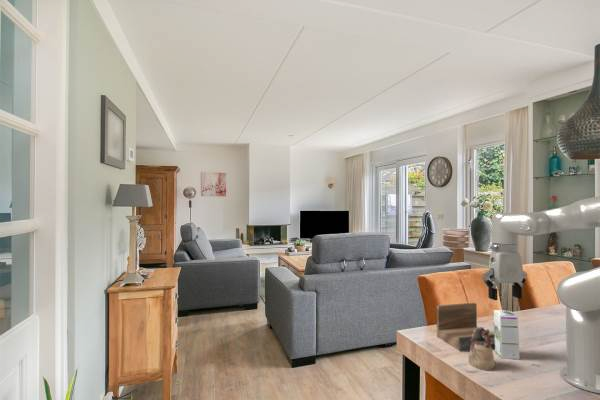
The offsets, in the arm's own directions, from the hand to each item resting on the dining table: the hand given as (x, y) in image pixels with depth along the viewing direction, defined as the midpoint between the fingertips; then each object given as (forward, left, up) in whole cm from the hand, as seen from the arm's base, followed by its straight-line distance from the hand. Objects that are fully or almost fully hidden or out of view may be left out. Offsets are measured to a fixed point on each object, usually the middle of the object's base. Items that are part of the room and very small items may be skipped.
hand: (505, 298), depth 109 cm
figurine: (-4, +13, -19) cm, 24 cm away
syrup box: (0, 0, -19) cm, 19 cm away
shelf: (+12, +5, -19) cm, 23 cm away
